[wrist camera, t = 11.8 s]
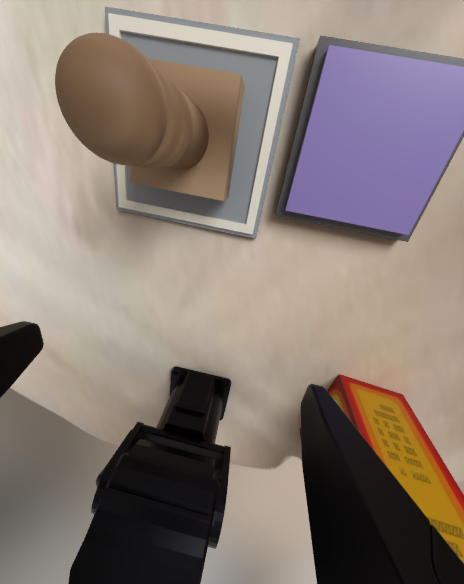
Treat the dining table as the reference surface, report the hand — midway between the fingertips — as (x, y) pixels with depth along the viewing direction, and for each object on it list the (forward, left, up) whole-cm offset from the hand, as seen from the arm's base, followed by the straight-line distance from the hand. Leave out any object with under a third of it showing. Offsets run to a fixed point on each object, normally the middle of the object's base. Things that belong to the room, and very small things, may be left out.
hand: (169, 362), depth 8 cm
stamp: (+7, +4, -12) cm, 15 cm away
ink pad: (+8, -7, -13) cm, 17 cm away
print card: (+7, +4, -13) cm, 15 cm away
